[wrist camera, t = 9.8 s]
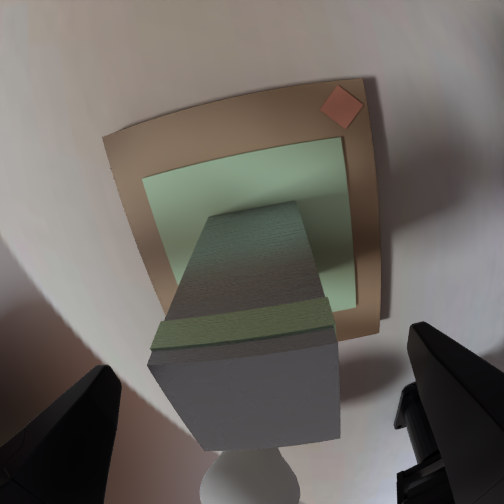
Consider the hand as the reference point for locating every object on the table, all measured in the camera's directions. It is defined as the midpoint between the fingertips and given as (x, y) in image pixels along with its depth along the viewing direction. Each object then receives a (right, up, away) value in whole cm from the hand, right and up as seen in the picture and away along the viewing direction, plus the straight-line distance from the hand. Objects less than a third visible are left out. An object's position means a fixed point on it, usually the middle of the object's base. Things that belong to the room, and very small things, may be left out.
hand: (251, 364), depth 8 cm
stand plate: (0, +4, +8) cm, 9 cm away
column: (0, +3, +7) cm, 7 cm away
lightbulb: (0, -8, +14) cm, 16 cm away
